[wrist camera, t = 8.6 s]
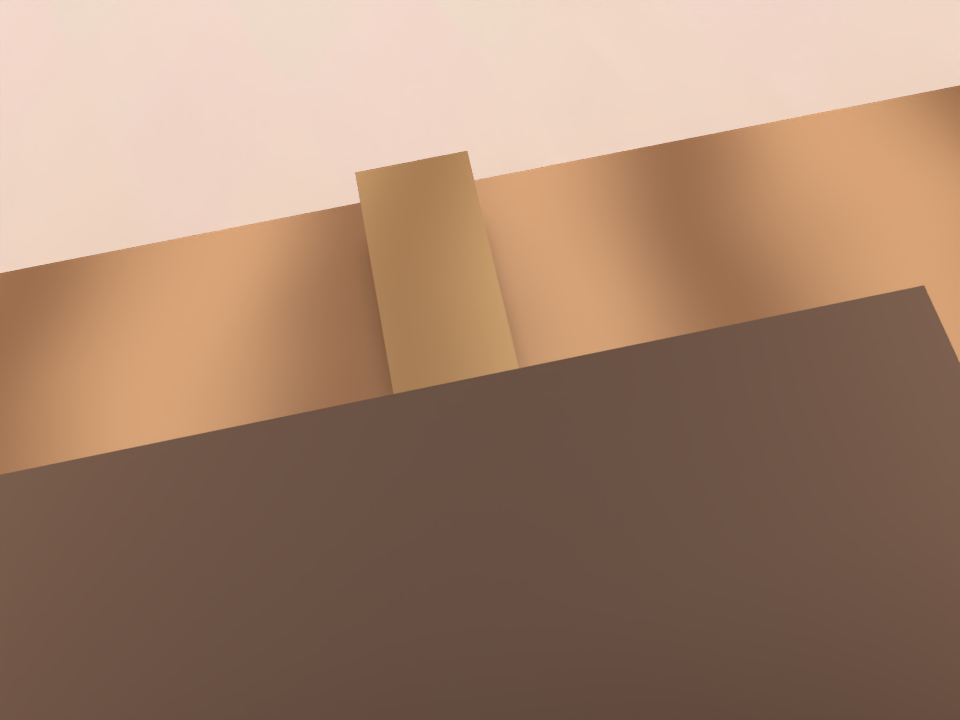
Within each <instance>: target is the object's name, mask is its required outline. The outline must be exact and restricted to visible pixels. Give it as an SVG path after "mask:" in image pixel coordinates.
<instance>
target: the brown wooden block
mask: <svg viewBox="0 0 960 720" xmlns="http://www.w3.org/2000/svg"><path fill="white" fill-rule="evenodd" d="M355 174H356V180H357V186H358V191H359V197H360V203H361V209H362V214H363V220H364V226H365V232H366V237H367V243H368V249H369V255H370V261H371V266H372V272H373V278H374V284H375V289H376V295H377V301H378V307H379V313H380V318H381V324H382V330H383V336H384V341H385V347H386V353H387V359H388V365H389V370H390V376H391V382H392V388H393V393H394V394H391V395H386V396H381V397H377V398H372V399H367V400H362V401H357V402H352V403H347V404H342V405H338V406H333V407H328V408H323V409H318V410H313V411H308V412H303V413H298V414H294V415H289V416H284V417H279V418H274V419H269V420H264V421H259V422H255V423H250V424H245V425H240V426H235V427H230V428H225V429H220V430H216V431H211V432H206V433H201V434H196V435H191V436H186V437H181V438H176V439H172V440H167V441H162V442H157V443H152V444H147V445H142V446H137V447H133V448H128V449H123V450H118V451H113V452H108V453H103V454H98V455H94V456H89V457H84V458H79V459H74V460H69V461H64V462H59V463H55V464H50V465H45V466H40V467H35V468H30V469H25V470H20V471H15V472H11V473H6V474H1V475H0V720H960V362H959V360H958V358H957V355H956V353H955V351H954V349H953V347H952V345H951V342H950V340H949V338H948V336H947V334H946V332H945V329H944V327H943V325H942V323H941V321H940V319H939V316H938V314H937V312H936V310H935V308H934V306H933V303H932V301H931V299H930V297H929V295H928V293H927V290H926V288H925V286H924V285H923V286H918V287H913V288H908V289H903V290H899V291H894V292H889V293H884V294H879V295H874V296H869V297H864V298H860V299H855V300H850V301H845V302H840V303H835V304H830V305H825V306H821V307H816V308H811V309H806V310H801V311H796V312H791V313H786V314H781V315H777V316H772V317H767V318H762V319H757V320H752V321H747V322H742V323H738V324H733V325H728V326H723V327H718V328H713V329H708V330H703V331H699V332H694V333H689V334H684V335H679V336H674V337H669V338H664V339H660V340H655V341H650V342H645V343H640V344H635V345H630V346H625V347H620V348H616V349H611V350H606V351H601V352H596V353H591V354H586V355H581V356H577V357H572V358H567V359H562V360H557V361H552V362H547V363H542V364H538V365H533V366H528V367H523V368H519V366H518V362H517V358H516V354H515V350H514V345H513V341H512V337H511V333H510V329H509V324H508V320H507V316H506V312H505V308H504V304H503V299H502V295H501V291H500V287H499V283H498V278H497V274H496V270H495V266H494V262H493V257H492V253H491V249H490V245H489V241H488V236H487V232H486V228H485V224H484V220H483V216H482V211H481V207H480V203H479V199H478V195H477V190H476V186H475V182H474V178H473V174H472V169H471V165H470V161H469V157H468V153H467V151H464V152H459V153H454V154H449V155H443V156H438V157H433V158H428V159H423V160H418V161H412V162H407V163H402V164H397V165H392V166H387V167H382V168H376V169H371V170H366V171H361V172H356V173H355Z"/></svg>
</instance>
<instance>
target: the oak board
mask: <svg viewBox="0 0 960 720" xmlns="http://www.w3.org/2000/svg"><path fill="white" fill-rule="evenodd" d="M474 182H475V186H476V190H477V195H478V199H479V203H480V207H481V211H482V216H483V220H484V224H485V228H486V232H487V236H488V241H489V245H490V249H491V253H492V257H493V262H494V266H495V270H496V274H497V278H498V283H499V287H500V291H501V295H502V299H503V304H504V308H505V312H506V316H507V320H508V324H509V329H510V333H511V337H512V341H513V345H514V350H515V354H516V358H517V362H518V366H519V368H523V367H528V366H533V365H538V364H542V363H547V362H552V361H557V360H562V359H567V358H572V357H577V356H581V355H586V354H591V353H596V352H601V351H606V350H611V349H616V348H620V347H625V346H630V345H635V344H640V343H645V342H650V341H655V340H660V339H664V338H669V337H674V336H679V335H684V334H689V333H694V332H699V331H703V330H708V329H713V328H718V327H723V326H728V325H733V324H738V323H742V322H747V321H752V320H757V319H762V318H767V317H772V316H777V315H781V314H786V313H791V312H796V311H801V310H806V309H811V308H816V307H821V306H825V305H830V304H835V303H840V302H845V301H850V300H855V299H860V298H864V297H869V296H874V295H879V294H884V293H889V292H894V291H899V290H903V289H908V288H913V287H918V286H923V285H924V286H925V288H926V290H927V293H928V295H929V297H930V299H931V301H932V303H933V306H934V308H935V310H936V312H937V314H938V316H939V319H940V321H941V323H942V325H943V327H944V329H945V332H946V334H947V336H948V338H949V340H950V342H951V345H952V347H953V349H954V351H955V353H956V355H957V358H958V360H959V362H960V86H955V87H950V88H945V89H940V90H935V91H930V92H924V93H919V94H914V95H909V96H904V97H899V98H894V99H889V100H884V101H878V102H873V103H868V104H863V105H858V106H853V107H848V108H843V109H838V110H832V111H827V112H822V113H817V114H812V115H807V116H802V117H797V118H792V119H786V120H781V121H776V122H771V123H766V124H761V125H756V126H751V127H746V128H740V129H735V130H730V131H725V132H720V133H715V134H710V135H705V136H700V137H694V138H689V139H684V140H679V141H674V142H669V143H664V144H659V145H654V146H648V147H643V148H638V149H633V150H628V151H623V152H618V153H613V154H608V155H602V156H597V157H592V158H587V159H582V160H577V161H572V162H567V163H562V164H556V165H551V166H546V167H541V168H536V169H531V170H526V171H521V172H516V173H510V174H505V175H500V176H495V177H490V178H485V179H480V180H475V181H474ZM391 394H394V393H393V388H392V382H391V376H390V370H389V365H388V359H387V353H386V347H385V341H384V336H383V330H382V324H381V318H380V313H379V307H378V301H377V295H376V289H375V284H374V278H373V272H372V266H371V261H370V255H369V249H368V243H367V237H366V232H365V226H364V220H363V214H362V209H361V203H357V204H352V205H347V206H342V207H337V208H332V209H326V210H321V211H316V212H311V213H306V214H301V215H296V216H291V217H286V218H280V219H275V220H270V221H265V222H260V223H255V224H250V225H245V226H240V227H234V228H229V229H224V230H219V231H214V232H209V233H204V234H199V235H194V236H188V237H183V238H178V239H173V240H168V241H163V242H158V243H153V244H148V245H142V246H137V247H132V248H127V249H122V250H117V251H112V252H107V253H102V254H96V255H91V256H86V257H81V258H76V259H71V260H66V261H61V262H56V263H50V264H45V265H40V266H35V267H30V268H25V269H20V270H15V271H10V272H4V273H0V475H1V474H6V473H11V472H15V471H20V470H25V469H30V468H35V467H40V466H45V465H50V464H55V463H59V462H64V461H69V460H74V459H79V458H84V457H89V456H94V455H98V454H103V453H108V452H113V451H118V450H123V449H128V448H133V447H137V446H142V445H147V444H152V443H157V442H162V441H167V440H172V439H176V438H181V437H186V436H191V435H196V434H201V433H206V432H211V431H216V430H220V429H225V428H230V427H235V426H240V425H245V424H250V423H255V422H259V421H264V420H269V419H274V418H279V417H284V416H289V415H294V414H298V413H303V412H308V411H313V410H318V409H323V408H328V407H333V406H338V405H342V404H347V403H352V402H357V401H362V400H367V399H372V398H377V397H381V396H386V395H391Z"/></svg>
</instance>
